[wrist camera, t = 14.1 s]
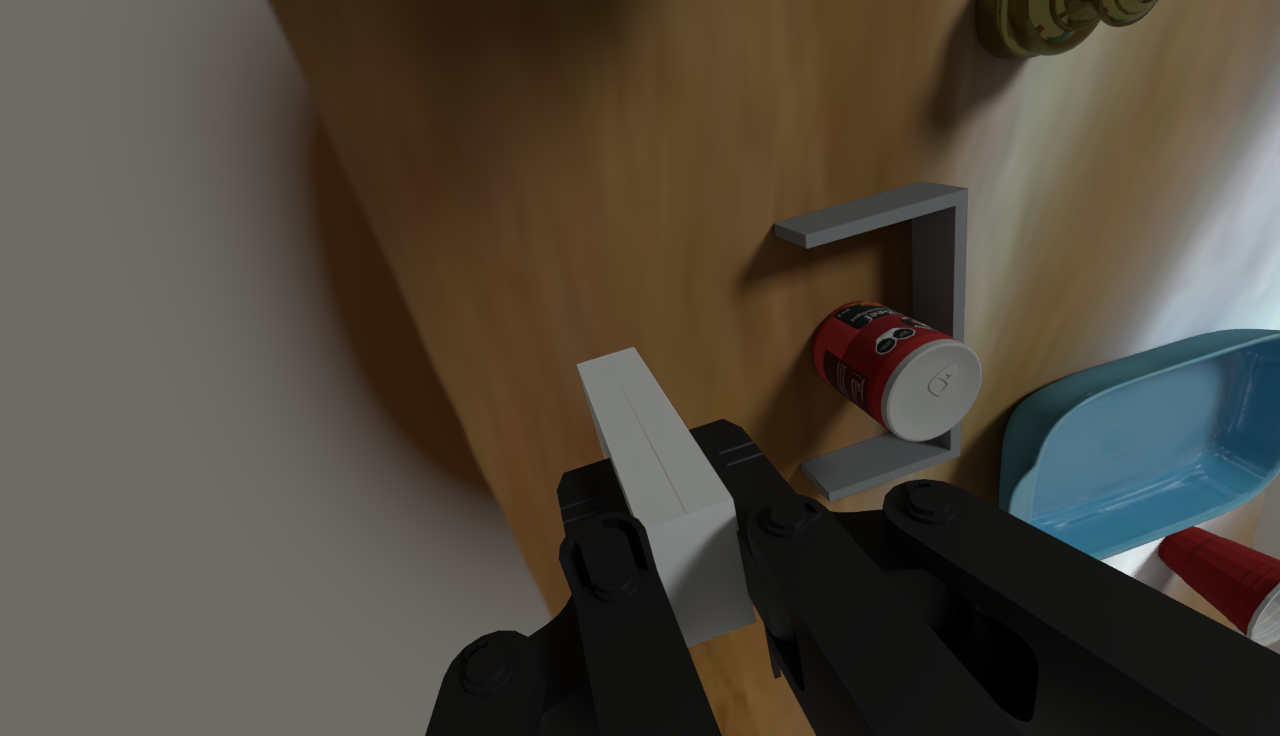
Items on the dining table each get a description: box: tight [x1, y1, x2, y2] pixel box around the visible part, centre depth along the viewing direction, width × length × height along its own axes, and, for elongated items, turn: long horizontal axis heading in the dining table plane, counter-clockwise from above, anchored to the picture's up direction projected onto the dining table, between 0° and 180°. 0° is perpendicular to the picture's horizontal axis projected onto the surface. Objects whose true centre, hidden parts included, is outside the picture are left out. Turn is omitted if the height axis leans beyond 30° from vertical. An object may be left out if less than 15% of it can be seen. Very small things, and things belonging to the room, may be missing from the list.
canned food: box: [812, 301, 982, 442], centre depth 47 cm, size 8×8×11 cm
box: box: [774, 182, 968, 502], centre depth 50 cm, size 24×13×5 cm, turn 13°
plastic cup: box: [1159, 526, 1280, 647], centre depth 71 cm, size 11×11×12 cm
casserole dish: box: [999, 329, 1280, 560], centre depth 62 cm, size 37×22×7 cm, turn 102°
